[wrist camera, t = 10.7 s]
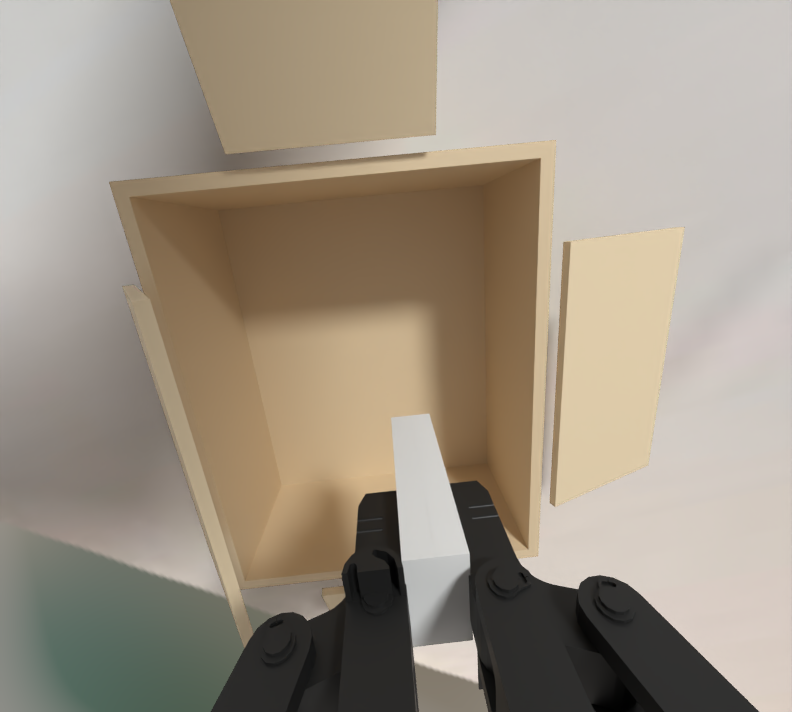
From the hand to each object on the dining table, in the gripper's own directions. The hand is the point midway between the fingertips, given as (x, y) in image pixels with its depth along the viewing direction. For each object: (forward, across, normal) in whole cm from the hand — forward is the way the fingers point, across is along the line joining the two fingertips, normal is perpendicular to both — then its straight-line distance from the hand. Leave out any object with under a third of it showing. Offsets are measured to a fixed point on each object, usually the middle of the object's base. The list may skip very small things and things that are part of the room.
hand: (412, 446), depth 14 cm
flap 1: (0, -9, 0) cm, 9 cm away
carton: (+13, -2, 0) cm, 13 cm away
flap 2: (+2, -2, +15) cm, 15 cm away
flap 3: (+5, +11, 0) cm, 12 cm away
